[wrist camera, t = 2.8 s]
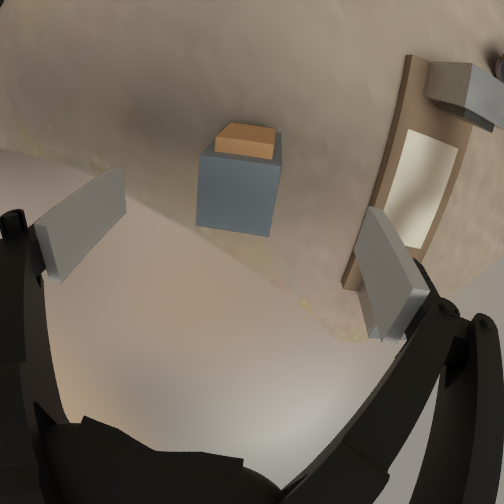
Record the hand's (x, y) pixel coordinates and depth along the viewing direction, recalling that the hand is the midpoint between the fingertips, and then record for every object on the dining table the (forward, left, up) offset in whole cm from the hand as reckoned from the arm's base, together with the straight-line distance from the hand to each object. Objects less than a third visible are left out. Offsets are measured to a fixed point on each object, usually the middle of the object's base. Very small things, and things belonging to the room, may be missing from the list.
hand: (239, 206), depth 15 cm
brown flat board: (+14, 0, -9) cm, 17 cm away
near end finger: (+14, +10, -8) cm, 19 cm away
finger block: (0, 0, -9) cm, 9 cm away
